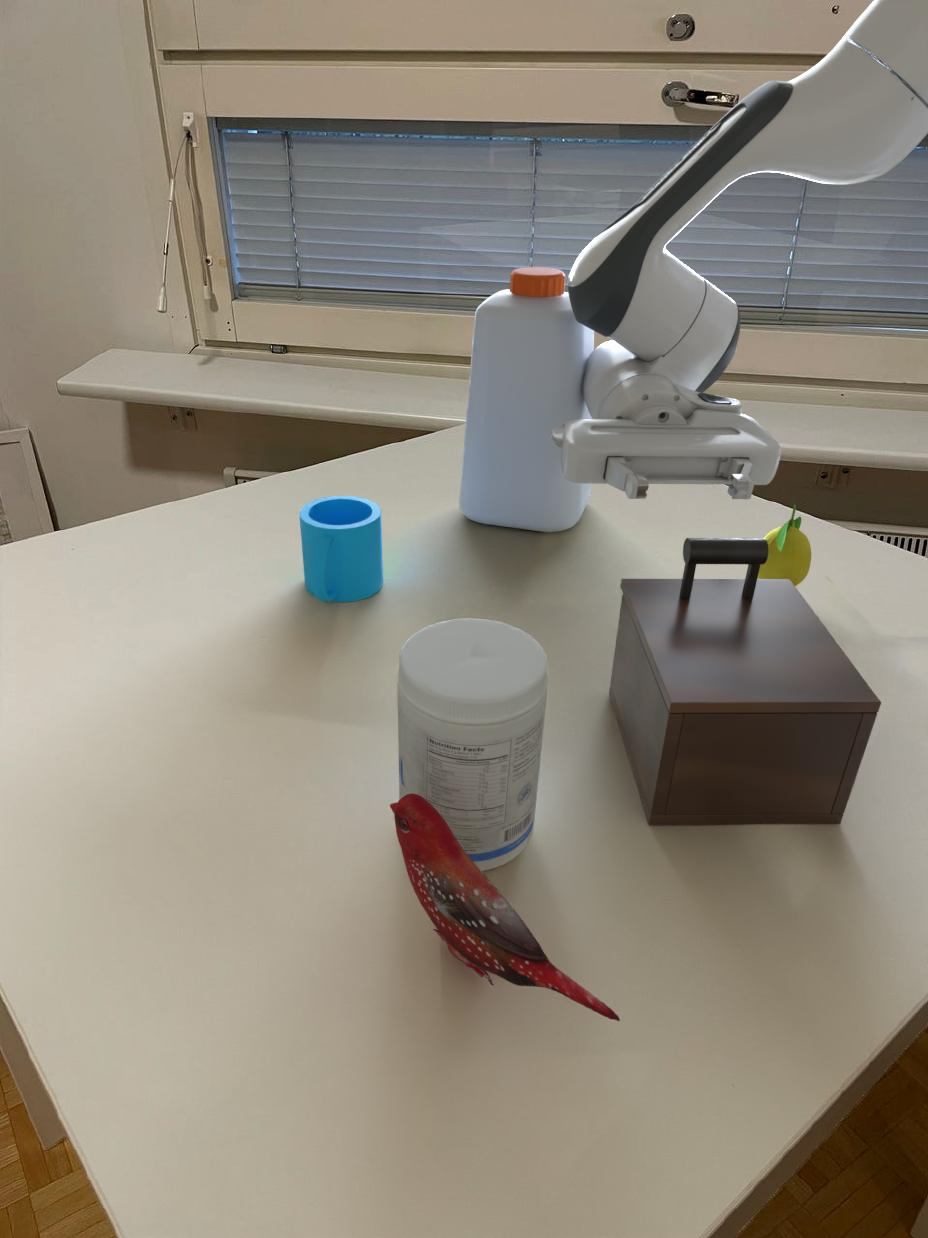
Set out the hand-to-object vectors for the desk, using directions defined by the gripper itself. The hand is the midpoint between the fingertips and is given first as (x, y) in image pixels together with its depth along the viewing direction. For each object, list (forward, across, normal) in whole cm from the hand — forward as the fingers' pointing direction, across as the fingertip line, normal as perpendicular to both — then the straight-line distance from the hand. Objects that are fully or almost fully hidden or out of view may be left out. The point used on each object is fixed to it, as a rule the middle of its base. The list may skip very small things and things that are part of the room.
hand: (692, 491), depth 75 cm
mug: (-10, -31, +17) cm, 37 cm away
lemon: (-7, +15, +16) cm, 23 cm away
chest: (+18, -1, +14) cm, 22 cm away
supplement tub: (+24, -21, +14) cm, 35 cm away
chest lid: (+16, -1, +4) cm, 17 cm away
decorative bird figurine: (+37, -21, +13) cm, 45 cm away
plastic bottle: (-31, -8, +18) cm, 36 cm away
